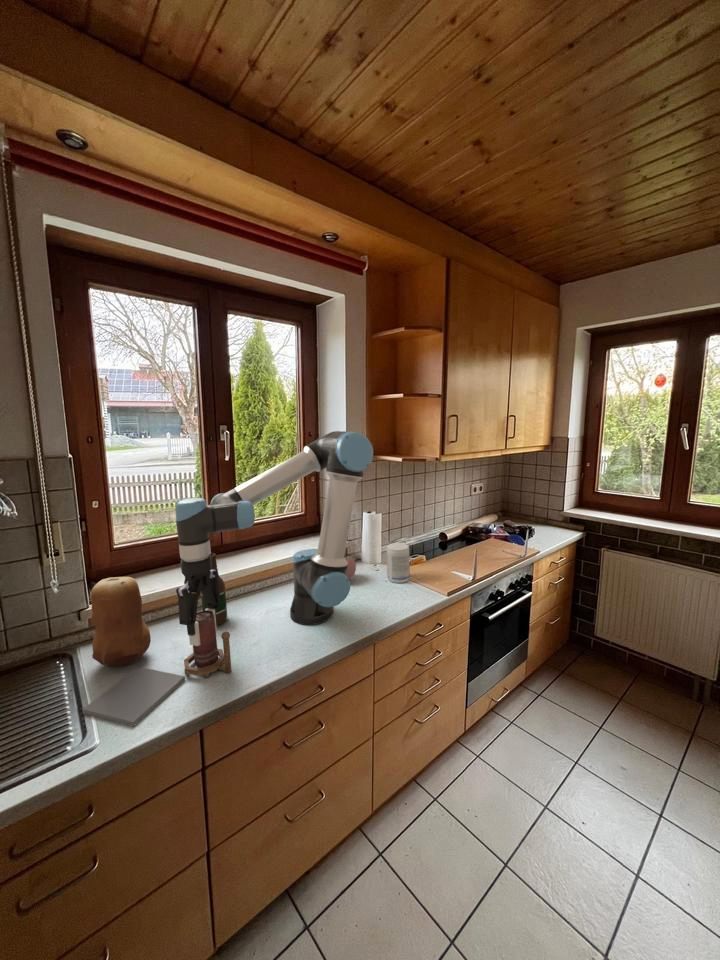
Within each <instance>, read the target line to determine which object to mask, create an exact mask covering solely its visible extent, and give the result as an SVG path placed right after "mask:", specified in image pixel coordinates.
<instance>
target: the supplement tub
mask: <svg viewBox="0 0 720 960" xmlns="http://www.w3.org/2000/svg"><path fill="white" fill-rule="evenodd" d="M386 546H387V547H386V566H387V567H386V568H387V570H386V572H387V573H386V574H387V580H388V581H389V582H392V583H396V584H404V583H406V582H408V581H410V579H411V573H410V572H411V570H410V569H411V566H410V563H411V562H410V561H411V560H410V558H411V557H410V553H411V552H410V545H408V544H406V543H402V542H394V543H390V544H388V545H386Z"/></svg>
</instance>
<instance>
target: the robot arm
mask: <svg viewBox="0 0 720 960" xmlns="http://www.w3.org/2000/svg"><path fill="white" fill-rule="evenodd" d="M373 457H374V448H373V444H372V443H371V441H370V440H369V438H368V437H367V436H366V435H365V434H363V433H360V432H357V431H351V430H347V431H345V430H344V431H339V430H337V431H331V432H328V433H326V434H324V435H322V436H320V437H318V438H317V439H316V440H314V441H312V442H310V443H308V444H307V445H305V446H304V447H303V449H302V450H301V451H300V452H299V453H297V454H295V455H294V456H291V457H289V458H288V459H285V460H283V461H281V462H280V463H278V464H276V465H275V466H273V467H271V468H269V469H267V470H265V471H263V472H262V473H260V474H258V475H256V476H255V477H252V478H250V479H249V480H247V481H245V482H243V483H241V484H240V485H237V486H236V487H234V488H233V489H230V490H228V491H227V492H222V493H217V494H216V495H214V496H213V498H212V499H211V501H210V504H208V503H207V501H206V499H204V498H202V497H197V498H196V497H194V498H193V497H191V498H185V499H184V498H183V499H181V500H179V501H177V502H176V503H175V506H174V507H175V508H174V509H175V524H176V525H175V526H176V532H177V539H178V541H177V542H178V546H179V547H178V549H179V557H180V559H181V560H180V569H181V574H182V575H183V576H184V582H183V585H182V586H181V587H177V588H176V589H175V593H176V596H177V597H178V598H177V599H178V600H177V601H178V619H179V625H181V626H182V625H183V626H186V630H187V635H188V639H189V645H191V646H193V645H195V646H199V645H201V644H200V635H199V625H198V622H197V621H196V614H197V613H198V604H199V597H201V593H202V595H203V598H204V601H205V603H206V606H207V607H208V608H206V609H205V611H211V612H212V613H213V614H214V619H215V629H216V632H217V631H218V629H217V628H218V626H216V609H218V608H219V605H217V603H220V593H219V586H218V579H217V576H218V574H219V571H218V570H211V569H212V560H211V556H210V554H211V553H212V552H211V551H212V549H211V541H210V534H214V533H215V534H216V533H221V532H228V531H235V530H243V529H248V528H251V527H253V526H254V525H255V522H256V521H255V518H256V517H255V508H254V506H255V505H257V504H258V503H260V502H262V501H264V500H266V499H268V498H269V497H270V496H273V495H274V494H276V493H278V492H280V491H282V490H283V489H285V488H287V487H289V486H290V485H293V484H294V483H295V482H298V481H300V480H301V479H303V478H305V477H306V476H308V475H309V474H311V473H313V472H317V473H319V472H321V471H323V470H325V473H326V474H327V475H328V478H329V481H328V487H327V491H326V492H327V493H326V499H325V504H324V510H323V516H322V522H321V529H320V533H319V540H318V541H319V542H318V546H317V548H310V549H309V548H307V549H302V550H299V551H297V552H294V554H292V555H293V556H292V572H293V575H292V576H293V593H294V594H293V598H292V602H291V606H290V609H289V615H290V619H291V621H293V622H294V623H297V624H299V625H305V626H306V625H307V626H309V625H310V626H311V625H318V624H319V625H320V624H322V623H325V622H327V621H328V620H330V619H331V618H332V617H333V615H334V607H336V606H339V605H340V604H341V603H342V602H344V601H345V599H347V598H348V595H350V594H349V593H350V591H351V590H350V589H351V582H350V579H348V577H347V576H346V572H347V566H348V562H347V561H346V560H347V559H346V558H345V554H346V549H347V543H348V537H349V536H348V535H349V531H350V525H351V524H350V523H351V520H352V519H351V518H352V513H353V506H354V501H355V497H356V496H355V495H356V490H357V484H358V482H360V481H361V480H362V479H363V478H364V473H365V470H366V469H367V468H368V467H369V466H370V465H371V464H372V462H373ZM215 597H216V598H215Z"/></svg>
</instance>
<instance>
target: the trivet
mask: <svg viewBox="0 0 720 960" xmlns="http://www.w3.org/2000/svg"><path fill="white" fill-rule="evenodd" d="M185 681H186V677H185V675H181V674H175V673H171V672H165V671H161V670H155V669H150V668H146V667H141V666H139V667H136V669H135V670H133V671H132V672H130V673H128V675H126V676H125V677H123V678H122V679H121V680H120V681H118V682H117V683H115V684H114V685H113V686H111V687H110V688H108V689H107V690H106V691H105V692H103V693H102V694H101V695H99V696H98V697H97V698H95V699H94V700H92V701H91V702H90V703H88V704H87V705H86V706H84V707H83V708H81V709H82V714H83V715H87V716H90V717H94V718H99V719H102V720H106V721H109V722H114V723H117V722H118V724H121V723H123V724H122V725H125V724H128V725H127V726H129V725H132V726H131V727H133V726H134V725H135V724H136V723H137V722H138V723H140V722H141V721H142V720H143V719H144V718H145V717H147V716H148V714H150V713H149V712H150V711H151V710H152V709H153V708H154V707H155V708H156V707H157V706H159V704H161V703H162V702H163V701H164V700H165V699H167V697H168V696H169V695H171V694H172V693H173V692H174V691H175V690H176V689H177V688H179V686H181V685H182V684H183V683H184V682H185ZM160 702H161V703H160ZM155 708H154V709H155ZM154 709H153V710H154ZM153 710H152V711H153ZM152 711H151V712H152ZM144 716H145V717H144ZM143 717H144V718H143ZM142 718H143V719H142ZM141 719H142V720H141ZM140 720H141V721H140ZM139 721H140V722H139ZM138 723H137V724H138ZM137 724H136V725H137ZM136 725H135V726H136ZM135 726H134V727H135Z"/></svg>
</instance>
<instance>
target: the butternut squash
mask: <svg viewBox="0 0 720 960" xmlns="http://www.w3.org/2000/svg"><path fill="white" fill-rule="evenodd" d="M142 602H143V600H142V595H141V591H140V587H139V584H138V582H137V580H136V579H135V578H133V577H131V576H115V577H114V576H113V577H112V576H111V577H107V578H103V579H101V580H100V581H98V582H97V583H96V584H95V585H94V586H93V587H92V589H91V592H90V603H91V611H92V615H91V618H90V619H91V623H92V624H93V625H94V627H95V631H94V635H93V639H92V655H91V656H92V657H91V658H92V659H93V660H94V661H96V662H97V663H99V664H100V665H103V666H104V667H108V668H115V667H120V666H126V667H127V666H128V665H131V664H133V663H135V662H137V661H138V659H140V658H141V657H143V655H145V653H146V652H147V651H148V649H150V648H149V647H150V645H151V638H152V637H151V633H150V628H149V627H148V625H147V624H146V622H145V621H144V618H143V616H142V607H143V604H142Z"/></svg>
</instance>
